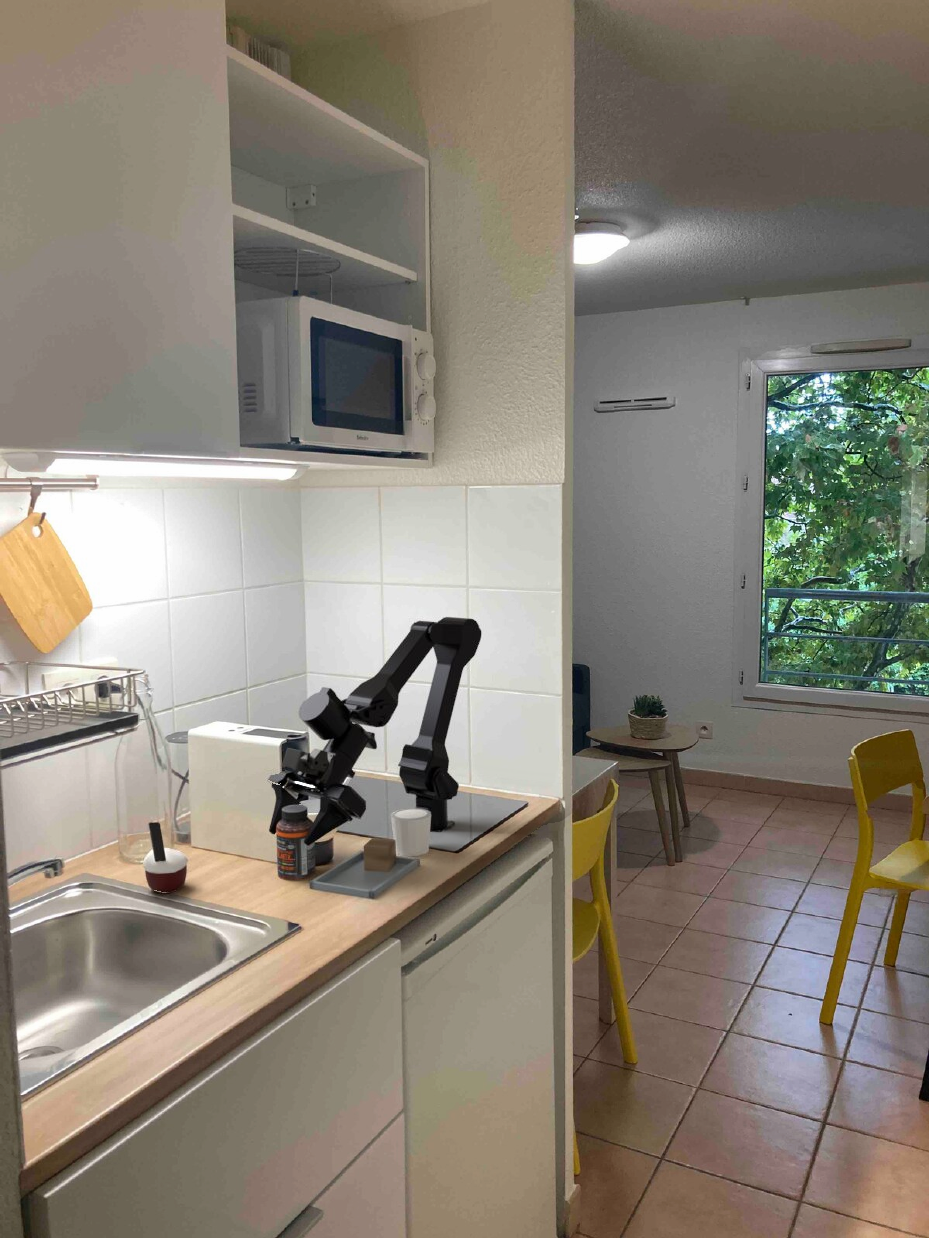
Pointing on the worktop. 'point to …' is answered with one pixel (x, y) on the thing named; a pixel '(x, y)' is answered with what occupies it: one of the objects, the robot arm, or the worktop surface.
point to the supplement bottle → (294, 844)
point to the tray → (362, 877)
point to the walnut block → (380, 855)
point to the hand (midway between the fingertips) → (288, 838)
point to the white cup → (411, 831)
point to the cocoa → (164, 864)
